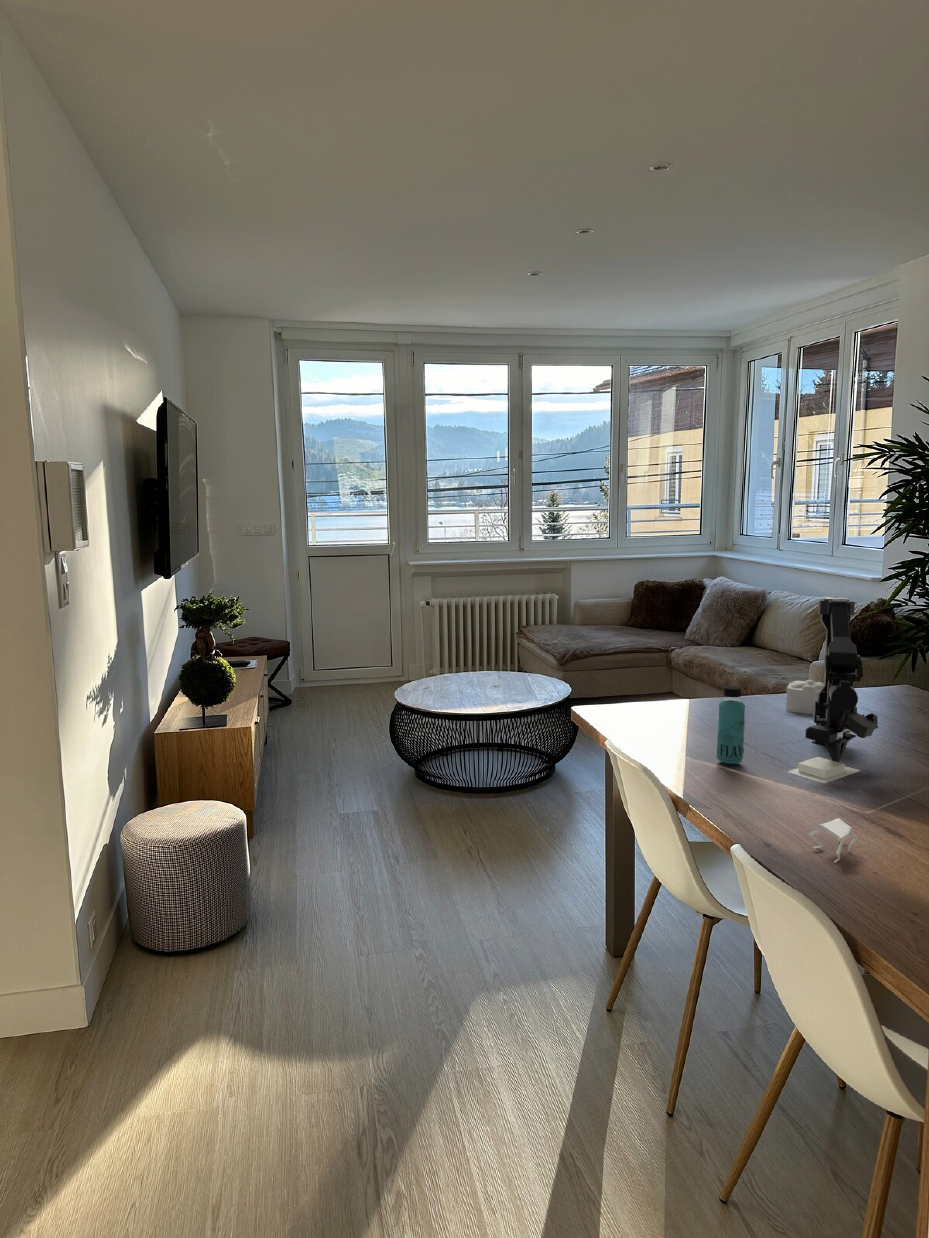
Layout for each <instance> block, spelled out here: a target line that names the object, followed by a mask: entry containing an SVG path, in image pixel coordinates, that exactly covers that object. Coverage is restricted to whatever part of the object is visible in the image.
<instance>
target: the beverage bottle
mask: <svg viewBox="0 0 929 1238" xmlns="http://www.w3.org/2000/svg"><path fill="white" fill-rule="evenodd" d="M723 688H724V690H723V696H724V697H727V698H726V699H725V698H724V699H723V700H721V701H720V702H719V703H718V727H717V728H718V729H717V730H718V731H717V735H716V736H717V738H716V739H717V741H716V743H717V745H716V753H715V754H716V756H715V757H716V759H717V760H718V761H719V762H721V763H725V764H730V765H731V764H733V765H734V764H740V763H742V762H743V760H744V754H745V751H744V750H745V748H744V741H745V740H744V739H745V736H744V734H745V730H746V729H745V726H746V720H745V719H746V718H745V712H746V705H745V704H744V702H743V701H742V700H740V699H736V698H740V697H742V689H741V687H740V686H734V685H727V686H725V687H723ZM728 697H729V698H728Z"/></svg>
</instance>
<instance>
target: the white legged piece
mask: <svg viewBox="0 0 929 1238" xmlns="http://www.w3.org/2000/svg"><path fill="white" fill-rule="evenodd" d="M817 825H818V827H817V828H816V829H813V830H812V831H810V832H808V833H807V835H809V837H810V838H811V839H812V840H814V841H815V842H816V843H817V844H818V845H815V846H813V849H820V848H825V847H824V845H823V844H822V843H821V842H820V841H819V840H818V839H817V838H816V837H815V836H816V835H819V834H821V833H822V832H827V833H828V834H830V835H831V836H833V838H836V839H837V841H838V842H839V845H838V847H837V850H836V852H835V855H836V856H837V858H836V859H834V860H833V863H837V862H839V861H840V860H841V855H840V854H841V852H842V849H843V844H844V842H845V841H846V840H847V839H849V838H850V836H851V834H852V836H853V838H852V840H851V842H850V843H849V844H848V846H847V849H848V852H850V853H851V852H852V851H851V849H850V848H851V846H853V844H854V843H855V842H856V840H857V839H858V836H857V835H856V834H855V832H854V831H853V827H852V826H850V825H848V824H847V823H846V822H845V821H843V820H842V819H840V817H837V818H835V819H832V820H830V821H827V822H824V823H817Z"/></svg>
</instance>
